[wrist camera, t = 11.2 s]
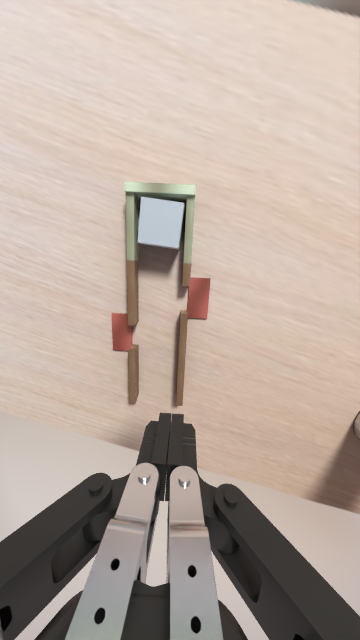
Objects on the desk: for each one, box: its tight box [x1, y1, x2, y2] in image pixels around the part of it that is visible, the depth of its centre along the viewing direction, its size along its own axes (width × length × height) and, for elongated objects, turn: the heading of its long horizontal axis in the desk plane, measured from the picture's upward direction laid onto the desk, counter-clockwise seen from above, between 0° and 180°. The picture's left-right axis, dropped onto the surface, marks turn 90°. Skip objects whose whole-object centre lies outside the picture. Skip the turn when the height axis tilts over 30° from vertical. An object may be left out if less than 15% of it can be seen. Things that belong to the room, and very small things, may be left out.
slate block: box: [138, 197, 184, 250], centre depth 27 cm, size 5×5×4 cm
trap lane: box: [112, 182, 210, 406], centre depth 31 cm, size 14×31×3 cm, turn 177°
